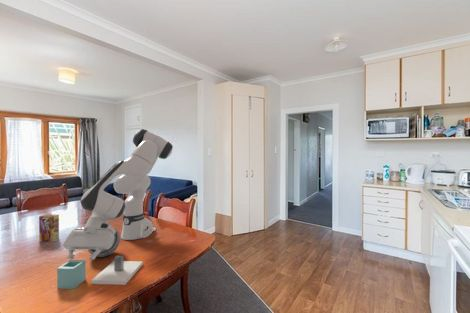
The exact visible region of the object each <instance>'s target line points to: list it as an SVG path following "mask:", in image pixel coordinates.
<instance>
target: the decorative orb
mask: <svg viewBox="0 0 470 313" xmlns="http://www.w3.org/2000/svg"><path fill="white" fill-rule="evenodd" d="M113 228H114V227H113ZM114 229H115V230H116V233H115V234H114V241H113V244H112V246H111V248H109V249H102V250H101V252H100V253H99V254H98V255H97V256H96V257H95V258H97V257H98V258H104V257H107V256H110V255H112V254H114V252H115V251H116V250H117V249H118V247H119V246H120V242H121V234H120V232H119V231H118V230H117V229H116V228H114ZM87 250H88V252H89V253H90V255H91V254H93V253H94V252H95V251H96V250H95V249H87Z"/></svg>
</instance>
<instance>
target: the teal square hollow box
mask: <svg viewBox="0 0 470 313" xmlns="http://www.w3.org/2000/svg"><path fill="white" fill-rule="evenodd" d="M86 262H87V261H86V260H83V259H81V260H80V259H76V260H75V259H69V260H68V261H66V262H64V263H63V264H62V265H60V266H59V267H57V268H56V272H57V273H56V274H57V276H56V277H57V280H56V281H57V282H56V285H57V289H60V290H61V289H66V290H67V289H68V290H74V289H75V288H77V287H78V286H79V285H81V284H82V283H83V282H84V281H86V274H87V273H86V267H87V264H86Z"/></svg>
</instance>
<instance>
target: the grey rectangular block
mask: <svg viewBox="0 0 470 313" xmlns="http://www.w3.org/2000/svg"><path fill="white" fill-rule="evenodd" d="M124 257H125V256H124V255H116V256H115V257H114V259H113V261H114V271H122V270H123V269H124V261H125V260H124Z"/></svg>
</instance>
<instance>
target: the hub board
mask: <svg viewBox="0 0 470 313" xmlns="http://www.w3.org/2000/svg"><path fill="white" fill-rule="evenodd" d="M143 265H144V261H137V260H135V261H134V260H133V261H131V260H124V269H123V270H122V271H114V260H113V261H112V262H110V264H108V265H107V266H106V267H105V268H104V269H103V270H101V271H100V272H99V273H98V274H96V275H95V276H94V277H93V278H92V279H90V283H91V284H92V285H119V286H120V285H121V286H123V285H124V286H126V285H127V283H128V282H129V281H130V280H131V279H132V278H133V277H134V275H135V274H136V273H137V272H139V270H140V269H141V267H142V266H143Z"/></svg>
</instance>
